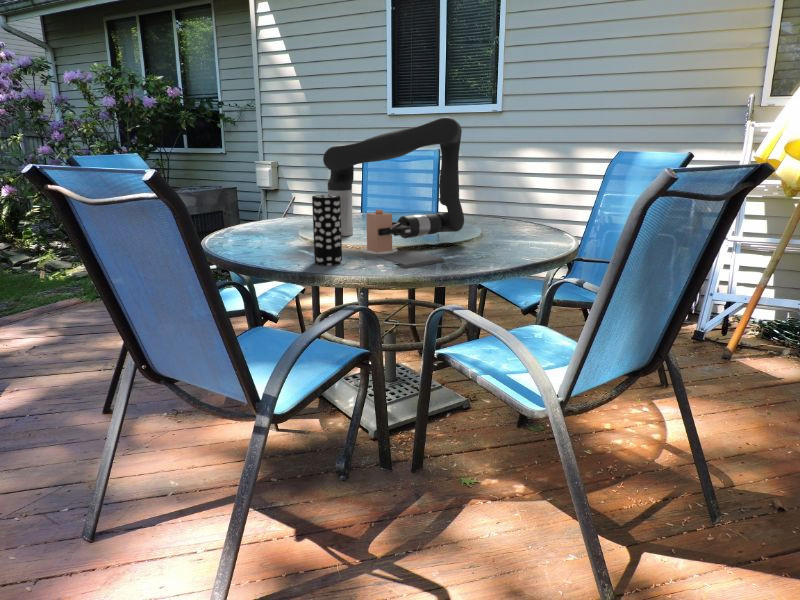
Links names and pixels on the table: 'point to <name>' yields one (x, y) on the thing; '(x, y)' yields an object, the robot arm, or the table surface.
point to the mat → (412, 258)
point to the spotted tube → (327, 229)
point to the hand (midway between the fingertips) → (373, 230)
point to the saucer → (379, 252)
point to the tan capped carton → (373, 225)
